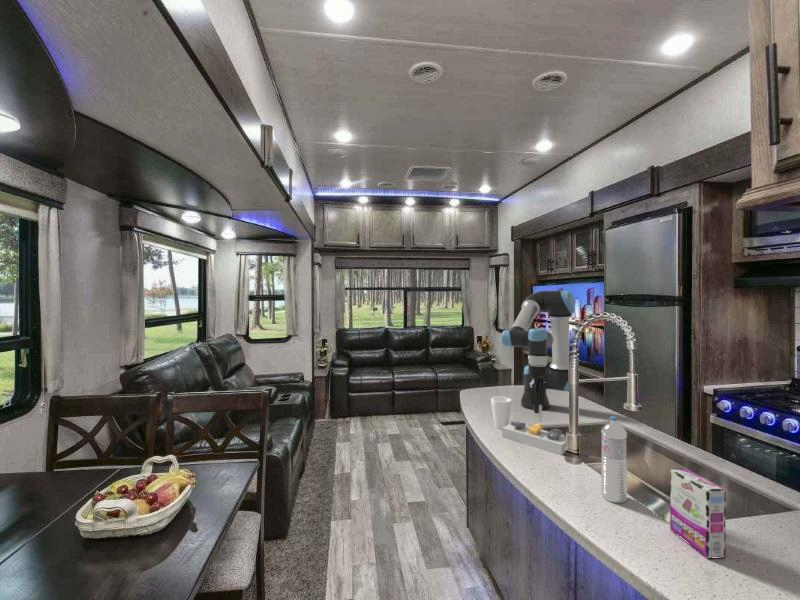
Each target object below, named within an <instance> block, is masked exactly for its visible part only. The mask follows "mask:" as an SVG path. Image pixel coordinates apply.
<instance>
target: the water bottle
mask: <svg viewBox="0 0 800 600" xmlns="http://www.w3.org/2000/svg"><path fill="white" fill-rule="evenodd" d="M609 418H610V419H609V420H610V421H608V422H607V423H605V424H604V425H603V426H602V427H601V429H600V433H601V455H600V459H601V460H600V462H601V466H600V470H601V471H600V472H601V473H600V475H601V476H600V477H601V482H600V483H601V484H600V485H601V486H600V487H601V496H602V498H604V500H606V501H609V502H610V503H614V504H624V503H626V502H627V499H628V482H627V481H628V458H627V438H628V433H627V430H626V429H625V428H624V427H623V425H622V424H620V423H619V422H618V417H617V416H615V415H612V416H611V415H610V417H609Z"/></svg>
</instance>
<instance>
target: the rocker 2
mask: <svg viewBox="0 0 800 600" xmlns="http://www.w3.org/2000/svg"><path fill="white" fill-rule="evenodd" d="M548 432H549V433H548V434H547V438H550V439H553V440H556V439H557V438H558V437H559V436H560V435H563V431H562V429H559V428H554V427H551V429H550V431H548Z"/></svg>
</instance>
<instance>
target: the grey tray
mask: <svg viewBox="0 0 800 600" xmlns="http://www.w3.org/2000/svg"><path fill="white" fill-rule="evenodd" d="M530 427H531V426H529V425H526V424H525V427H516V426H512V425H511V423H509V425H507V426H505V427H503V428H502V429H501V437H502V438H505V439H508V440H511V441H514V442H518V443H521V444H524V445H528V446H531V447H534V448H538V449H540V450H544V451H546V452H550V453H553V454H557V455H560V456H562V455H564V454H566V452H565V444H566V438H565V436H566V435H563V434H561V435H560V436H559V437H558V438H557V439H556V440H553V439H550V438H547V434H548V433H549V432H550V431H547V430H544V429H542V430H541V431H540V432H539V433H538V434H537V435H535V434H532V433H528V429H529V428H530ZM578 452H579V455H578V456H582V457H584V458H589V454H588V453H585V452H581V451H578Z"/></svg>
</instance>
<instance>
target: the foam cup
mask: <svg viewBox="0 0 800 600" xmlns="http://www.w3.org/2000/svg"><path fill="white" fill-rule="evenodd" d="M490 404H491V408H492V409H491V411H492V417H493V418H492V419H493V424H494V428H496V429H500V430H502V428H503V427H505V426H507V425H509V424H510V415H511V408H512V399H511V397H510V398H509V397H506V396H493V397H491V398H490Z"/></svg>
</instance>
